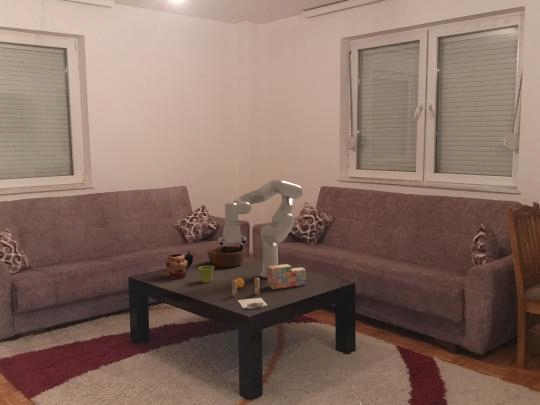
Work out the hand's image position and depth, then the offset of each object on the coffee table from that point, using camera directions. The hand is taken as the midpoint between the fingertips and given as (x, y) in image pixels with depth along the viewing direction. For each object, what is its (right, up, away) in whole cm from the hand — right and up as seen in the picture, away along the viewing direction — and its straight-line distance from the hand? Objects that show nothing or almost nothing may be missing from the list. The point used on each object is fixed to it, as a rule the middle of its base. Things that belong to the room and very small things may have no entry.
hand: (232, 252), depth 325 cm
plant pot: (-16, -19, +7) cm, 26 cm away
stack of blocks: (+32, -19, -4) cm, 38 cm away
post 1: (+3, -22, -24) cm, 33 cm away
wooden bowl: (-7, -13, +49) cm, 51 cm away
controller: (-34, -14, +41) cm, 55 cm away
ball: (+4, -17, -7) cm, 19 cm away
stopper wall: (+14, -25, -43) cm, 52 cm away
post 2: (+15, -21, -20) cm, 33 cm away
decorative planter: (-37, -17, +20) cm, 45 cm away
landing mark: (+13, -24, -36) cm, 44 cm away
